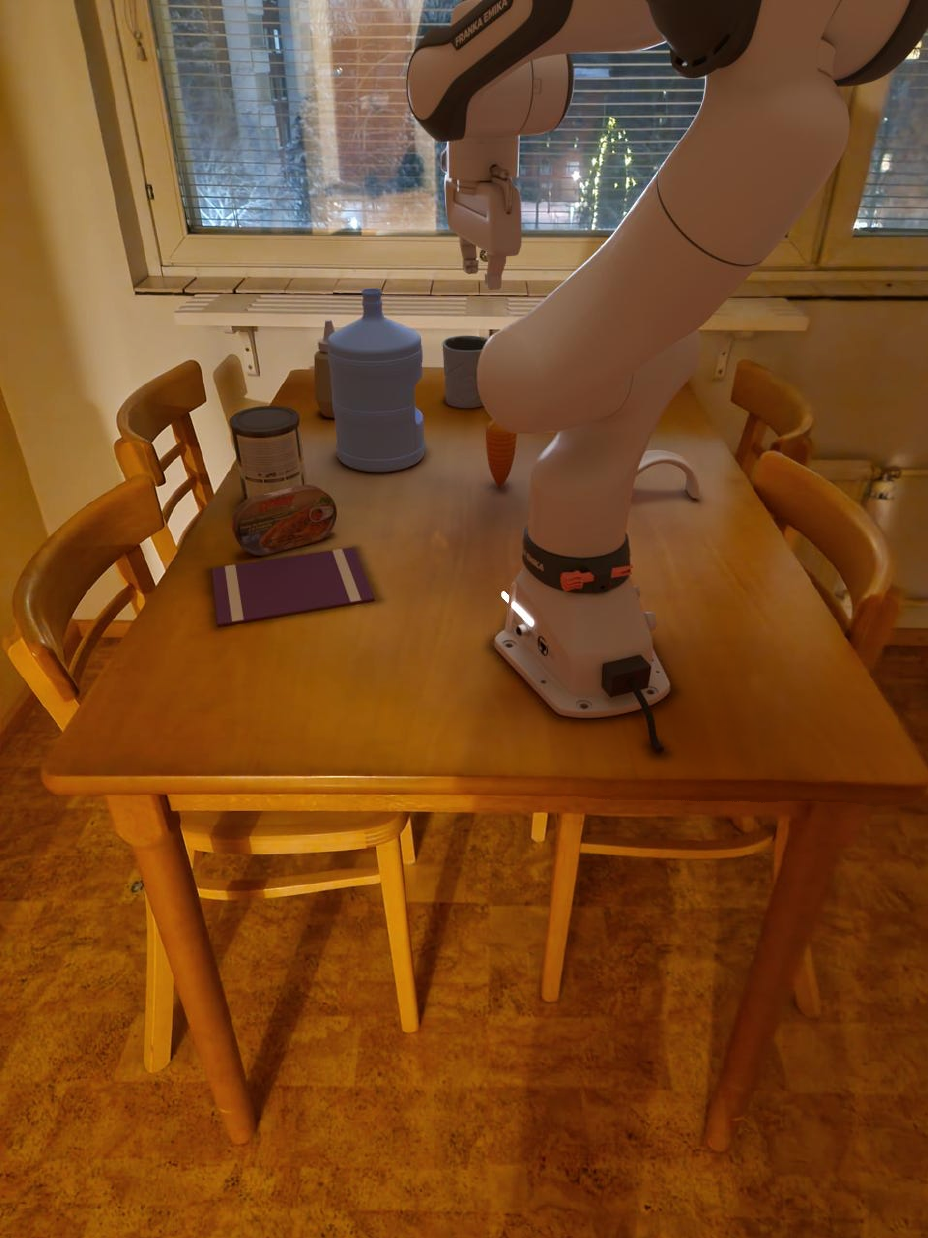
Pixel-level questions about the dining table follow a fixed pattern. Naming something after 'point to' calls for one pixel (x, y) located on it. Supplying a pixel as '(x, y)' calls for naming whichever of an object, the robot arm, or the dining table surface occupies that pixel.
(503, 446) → the carrot
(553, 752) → the dining table surface
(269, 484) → the coffee can
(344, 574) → the cloth
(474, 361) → the grey cup
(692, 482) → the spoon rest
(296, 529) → the tin
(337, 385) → the water jug
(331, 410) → the squeeze bottle
